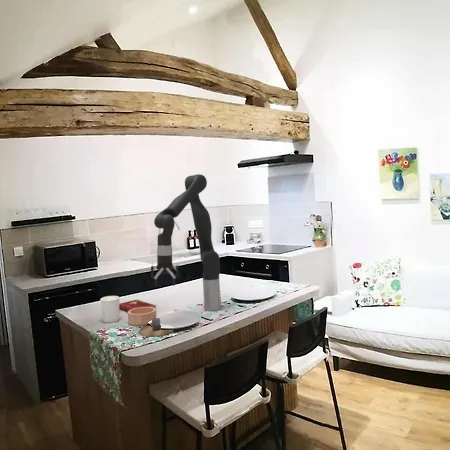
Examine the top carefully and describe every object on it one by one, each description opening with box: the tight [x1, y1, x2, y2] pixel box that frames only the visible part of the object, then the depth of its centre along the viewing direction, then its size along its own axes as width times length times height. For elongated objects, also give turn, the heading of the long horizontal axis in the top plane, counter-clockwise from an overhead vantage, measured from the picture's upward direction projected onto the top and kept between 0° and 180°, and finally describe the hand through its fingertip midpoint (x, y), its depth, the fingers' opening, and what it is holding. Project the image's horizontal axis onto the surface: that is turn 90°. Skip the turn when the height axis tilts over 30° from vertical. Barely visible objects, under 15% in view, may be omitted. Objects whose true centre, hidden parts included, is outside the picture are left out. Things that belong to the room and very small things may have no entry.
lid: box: [138, 317, 174, 338], centre depth 214 cm, size 17×17×6 cm
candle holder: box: [99, 295, 120, 324], centre depth 235 cm, size 10×10×12 cm
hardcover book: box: [119, 299, 157, 313], centre depth 253 cm, size 12×21×4 cm, turn 42°
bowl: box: [127, 307, 157, 327], centre depth 230 cm, size 14×14×6 cm
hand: (165, 286), depth 225 cm, fingers open, 8 cm apart
